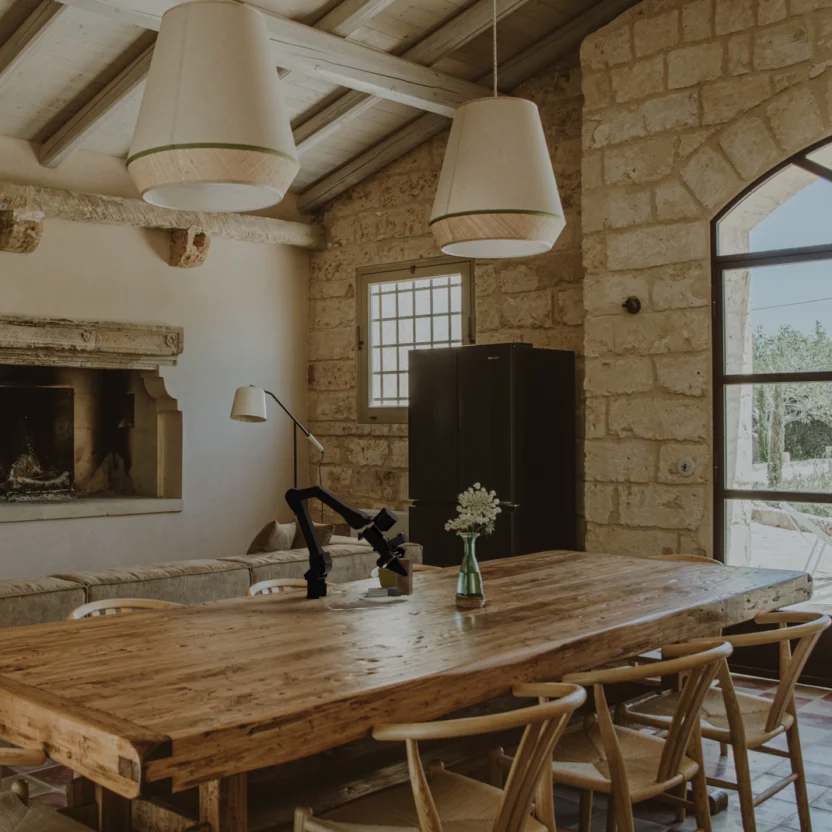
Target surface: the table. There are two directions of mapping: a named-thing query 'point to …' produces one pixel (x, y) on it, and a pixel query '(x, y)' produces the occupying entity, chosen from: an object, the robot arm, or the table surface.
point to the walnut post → (405, 578)
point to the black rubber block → (392, 591)
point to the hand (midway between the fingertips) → (408, 575)
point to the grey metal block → (378, 592)
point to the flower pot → (387, 578)
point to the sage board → (390, 599)
